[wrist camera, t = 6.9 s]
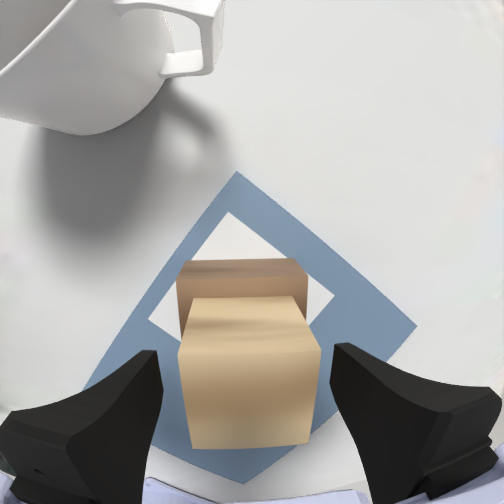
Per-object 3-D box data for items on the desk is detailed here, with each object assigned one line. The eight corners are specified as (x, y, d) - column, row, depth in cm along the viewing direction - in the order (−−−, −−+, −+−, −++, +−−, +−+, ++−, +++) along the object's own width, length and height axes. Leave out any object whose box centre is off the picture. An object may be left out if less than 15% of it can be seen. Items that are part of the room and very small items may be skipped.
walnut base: (289, 350, 19) (301, 382, 15) (193, 354, 18) (187, 387, 15) (293, 257, 17) (308, 275, 14) (185, 260, 17) (175, 279, 14)
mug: (31, 128, 15) (-99, 107, 4) (78, 10, 13) (-3, -72, 2) (201, 164, 16) (152, 131, 6) (247, 29, 15) (270, -107, 4)
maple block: (287, 375, 15) (308, 443, 10) (200, 378, 15) (192, 448, 10) (292, 295, 14) (321, 350, 9) (193, 298, 14) (177, 355, 9)
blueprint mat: (243, 480, 22) (243, 484, 22) (79, 395, 19) (77, 399, 19) (414, 323, 20) (417, 326, 19) (236, 171, 17) (236, 171, 16)
